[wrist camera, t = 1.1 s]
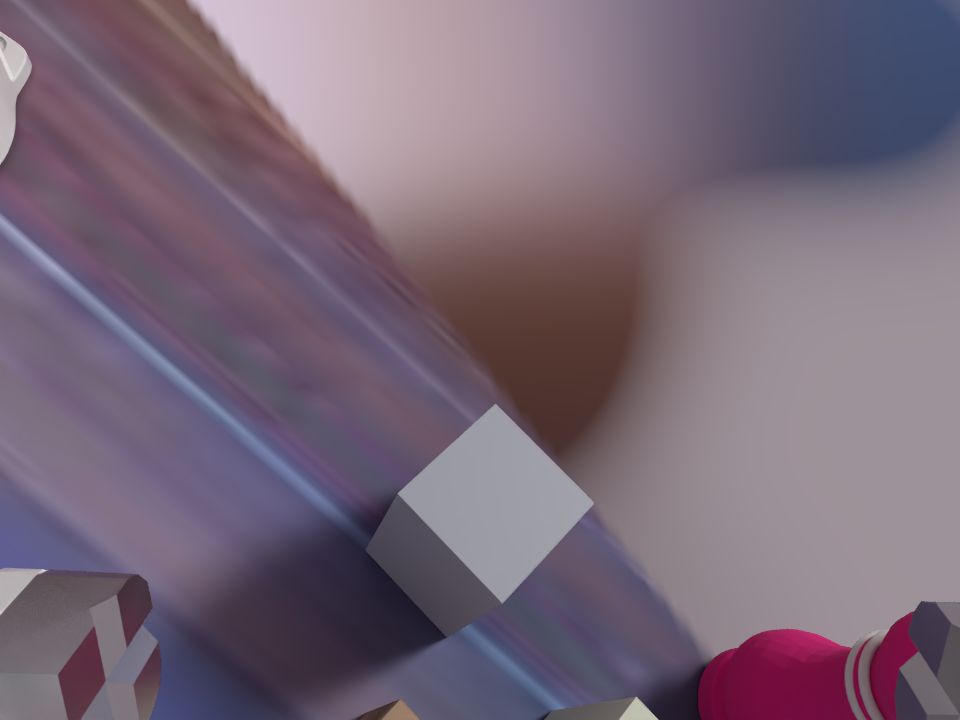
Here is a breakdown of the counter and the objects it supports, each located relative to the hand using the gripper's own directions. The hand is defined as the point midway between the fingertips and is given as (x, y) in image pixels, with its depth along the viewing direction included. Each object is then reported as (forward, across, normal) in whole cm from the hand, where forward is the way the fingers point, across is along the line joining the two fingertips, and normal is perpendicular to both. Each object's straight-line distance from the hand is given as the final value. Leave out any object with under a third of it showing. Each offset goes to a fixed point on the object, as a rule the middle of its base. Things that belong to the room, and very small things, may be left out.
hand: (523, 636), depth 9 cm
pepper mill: (+30, -14, +29) cm, 44 cm away
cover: (+32, +4, +21) cm, 38 cm away
